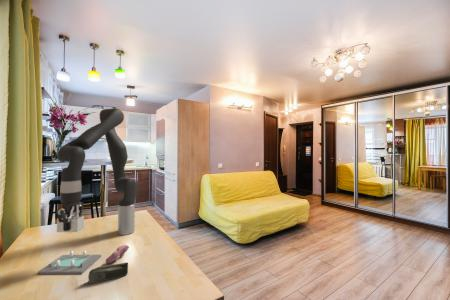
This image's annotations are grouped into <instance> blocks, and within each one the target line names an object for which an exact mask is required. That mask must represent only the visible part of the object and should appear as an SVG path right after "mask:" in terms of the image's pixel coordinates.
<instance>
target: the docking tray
mask: <svg viewBox="0 0 450 300" xmlns="http://www.w3.org/2000/svg"><path fill="white" fill-rule="evenodd" d="M100 258H102V254H87V250H83V251H82V254H74V251H73V250H70V251H69V254H61V255H60V256H58V257H57V258H56V259H54V260H53V261H51V262H50V263H49V264H47V265H45V266H44V267H42V268H41V269H40V270H38V271H37V275H72V274H73V275H83V274H84V273H85V272H86V271H87V270H88V269H90V268H91V266H93V265H94V264H95V263H96V262H97V261H98V260H100Z"/></svg>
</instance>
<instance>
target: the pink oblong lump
mask: <svg viewBox="0 0 450 300" xmlns="http://www.w3.org/2000/svg"><path fill="white" fill-rule="evenodd" d="M129 248H130V246H128V245H127V244H123V245H121V246H118V247H117V248H116V250H114V251H113V252H112V253H111V255H109V256H108V257H107V258H106V259H105V263H106V264H109V265H110V264H111V263H113V262H114V261H115V262H117V261H118V260H119V259H120V258H122V257H124V254H125V253H126V252H128V250H129Z"/></svg>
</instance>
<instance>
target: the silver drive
mask: <svg viewBox="0 0 450 300" xmlns="http://www.w3.org/2000/svg"><path fill="white" fill-rule="evenodd" d="M67 218H68V217H66V219H67ZM62 220H63V219H62ZM84 229H85V215H81V216H72V217H71V218H70V230H69V231H64V230H63V222H59V220H58V217H57V219H56V232H57V233H79V232H81V231H82V230H84Z"/></svg>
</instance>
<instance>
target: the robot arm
mask: <svg viewBox="0 0 450 300" xmlns="http://www.w3.org/2000/svg"><path fill="white" fill-rule="evenodd" d="M124 120H125V116H124V112H123V111H122V110H121V109H119V108H115V107H114V108H104V109H101V110H100V112H99V121H100V123H97V124H96V125H93V126H91V127H89V128H88V129H86V130H85V131H84V132H82V133H81V134H80V135H78V137H76V138H75V139H73V140H71V141H69V142H68V143H66V144H64V145H63V146H61V147H60V148H59V149H58V151H57V154H56V155H57V158H58V160H60V161H61V162H64V163H65V162H67V163H68V165H67V166H66V167H63V168H62V170H61V174H60V175H61V176H60V177H61V181H60V193H59V194H60V197H59V198H60V203H62V205H61V208H60V209H58V210H56V211H55V215H56V217H57V218H58V220H59V222H63V230H64V231H69V230H70V218H71V217H72V216H83V214H82V213H83V210H84V205H85V202H80V201H81V200H82V187H83V186H82V185H83V184H82V169H83V167H84V163H85V160H86V150H89V149H90V148H92V147H93V146H94V145H95V144H96V143H97V142H98V141H99V140H101V138H103V137H104V136H105V140H106V141H105V142H106V143H107V144H106V145H107V149H108V153H109V158H110V163H111V167H112V171H113V182H114V188H115V190H116V192H118V193H121V194H123V197H122V198H120V199H118V202H117V234H118V235H120V236H121V235H122V236H124V235H125V236H126V235H127V236H128V235H131V234H133V233H134V232H135V231H136V230H135V228H136V225H135V222H136V221H135V219H136V218H135V217H136V216H135V215H136V214H135V213H136V212H135V211H136V209H135V207H136V203H135V202H136V199H137V190H138V189H137V181H136V180H135V179H134V178H129V177H126V173H125V167H126V164H127V161H128V158H129V157H128V151H127V147H126V145H125V143H124V141H123V140H122V139H121V138H120V136H119V135H118V133H117V132H116V129H115V128H116V127H118V126H119V125H121V124H122V123H123V122H124ZM66 217H68V218H67V219H66ZM62 219H63V220H62ZM130 233H131V234H130Z"/></svg>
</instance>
